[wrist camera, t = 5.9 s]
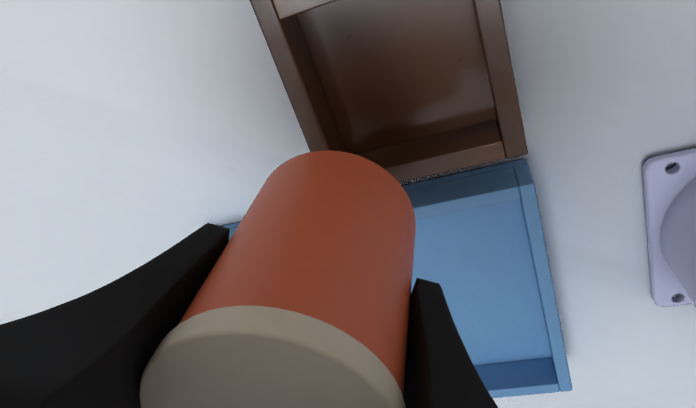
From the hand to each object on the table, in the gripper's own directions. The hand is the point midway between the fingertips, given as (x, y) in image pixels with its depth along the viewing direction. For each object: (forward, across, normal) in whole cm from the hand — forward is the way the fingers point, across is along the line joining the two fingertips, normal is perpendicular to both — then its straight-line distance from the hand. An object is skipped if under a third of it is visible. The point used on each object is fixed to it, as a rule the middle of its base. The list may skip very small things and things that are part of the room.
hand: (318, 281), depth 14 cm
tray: (+10, -3, +9) cm, 14 cm away
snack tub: (+3, 0, 0) cm, 3 cm away
